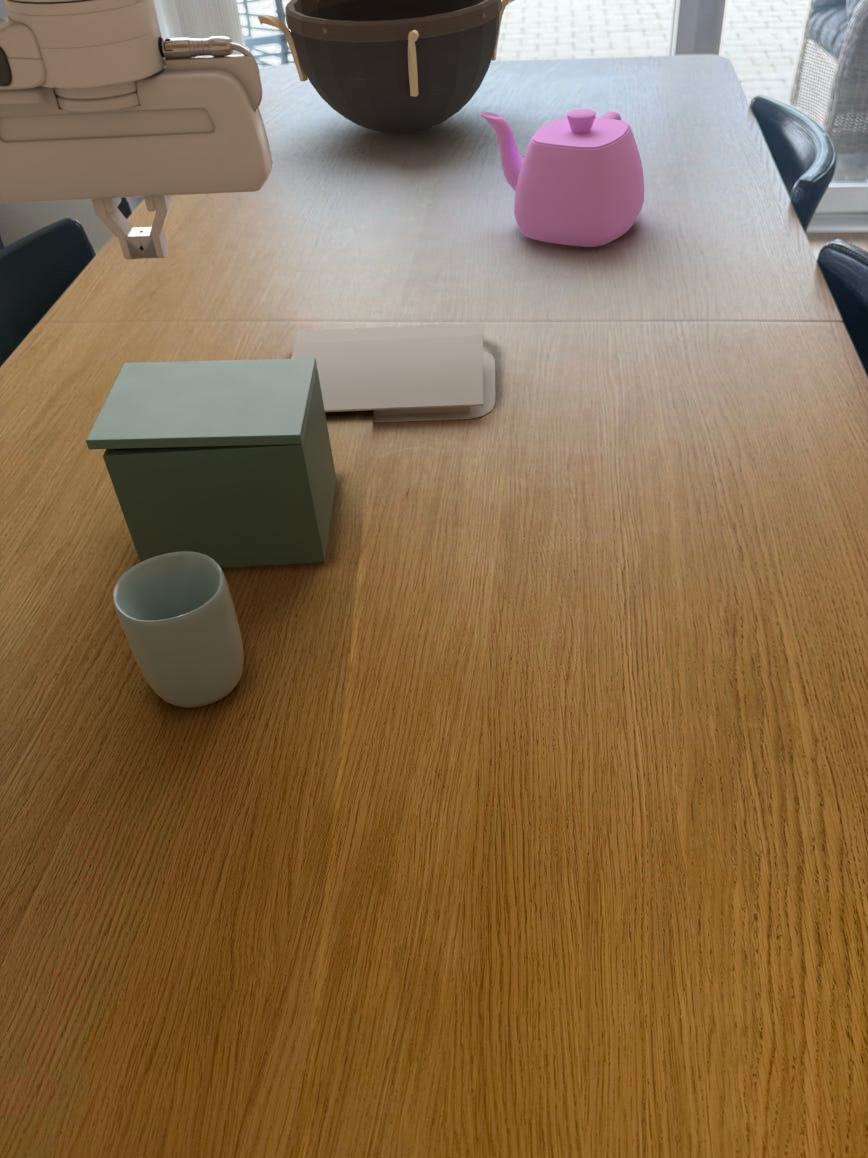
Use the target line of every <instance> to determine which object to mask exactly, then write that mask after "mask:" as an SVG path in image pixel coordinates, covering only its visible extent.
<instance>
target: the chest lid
mask: <svg viewBox="0 0 868 1158" xmlns="http://www.w3.org/2000/svg"><path fill="white" fill-rule="evenodd" d="M316 368H317V364H316V359H315V358H297V359H291V358H270V359H269V358H264V359H263V358H261V359H255V358H254V359H222V360H220V359H218V360H217V359H215V360H180V361H179V360H177V361H173V360H172V361H140V362H139V361H138V362H135V361H134V362H132V361H131V362H124V363H123V364H122V366H121V368H120V370H119V372H118V374H117V376H116V378H115V380H114V383H113V384H112V386H111V388H110V390H109V393H108V394H107V397H106V399H105V400H104V402H103V405H102V407H101V409H100V410H99V412H98V415H97V417H96V419H95V421H94V423H93V425H92V427H91V429H90V431H89V433H88V435H87V436H86V439H85V443H86V445H87V448H88V450H106V449H127V448H166V447H206V446H246V445H286V444H302V439H303V434H304V429H305V424H306V419H307V414H308V409H309V403H310V398H311V393H312V388H313V383H314V378H315V373H316Z"/></svg>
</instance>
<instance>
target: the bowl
mask: <svg viewBox="0 0 868 1158" xmlns="http://www.w3.org/2000/svg"><path fill="white" fill-rule="evenodd" d="M515 1H516V0H290V1H289V2H288V3H286V5H285V23H286V24H285V23H284V21H282V20H280V19H279V18H278V17H276V16H274V15H270V14H269V15H268V14H265V15H262V16H261V15H259V16H257V19H258V21H259V24H260V25H261V26H262V25H263V24H264V25H268V26H271V27H274V28H277V29H279V30H280V31H281V32H282V33H283V35H284V37H285V39H286V42H287V44H288V47H289V49H290V53H291V56H292V58H293V62H294V65H295V68H296V71H297V74H298V78H299V81H300V82H306V81H309V83H310V85H311V86H312V87H313V89H314V90H315V91H316V93H317V94H318V95H319V96H320V98H321V99H322V100H323V101H324V102H325V103H326V104H327V105H328V106H329V107H330V108H331V109H332V110H334V111H335V112H337V114H339V115H340V116H342V117H343V118H345V119H346V120H348V121H350V122H352V123H354V124H355V125H358V126H360V127H361V128H364V129H366V130H370V131H372V132H378V133H381V134H386V135H408V134H415V133H416V134H417V133H420V132H424V131H426V130H429V129H432V128H435V127H437V126H439V125H441V124H443V123H444V122H446V121H447V120H449V119H450V118H451V117H453V116H454V115H455V114H458V112H460V111H461V110H462V109H463V108H464V107H465V106H466V105H467V104H468V103H469V102H470V101H471V100H472V99H473V97H474V96H475V94H476V93H477V91H478V90H479V88H480V87H481V86H482V83H483V81H484V79H485V77H486V75H487V74H488V70H489V68H490V65H491V62H492V61H493V62H495V61H496V60H497V53H498V45H499V38H500V31H501V26H502V19H503V15H504V13H505V9H506V7H507V6H508V5H509V4H511V3H513V2H515Z"/></svg>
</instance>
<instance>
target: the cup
mask: <svg viewBox="0 0 868 1158" xmlns="http://www.w3.org/2000/svg"><path fill="white" fill-rule="evenodd" d="M112 599H113V600H112V601H113V607H114V611H115V613H116V617H117V620H118V621H119V624H120V627H121V630H122V633H123V634H124V638H125V639H126V641H127V644H128V646H129V649H130V651H131V654H132V656H133V659H134V660H135V662H136V664H137V667H138V669H139V671H140V672H141V675H142V676H143V678H144V680H145V681H146V683H147V684H148V685H149V686H150V688H151V689H152V690H153V692H154V693H155V695H156V696H158V697H159V698H160V699H161V700H163V701H164V702H165V703H167V704H170V705H171V706H174V707H175V708H176V707H178V708H183V709H194V708H200V707H205V706H208V705H211V704H214V703H216V702H219V701H220V700H222V699H224V698H225V697H227V696H228V695H229V694H230V693H232V691H234V689H236V688H237V685H238V684H239V683H240V680H241V678H242V674H243V672H244V671H243V670H244V664H245V663H244V661H245V660H244V659H245V658H244V657H245V656H244V654H245V653H244V643H243V637H242V632H241V627H240V623H239V619H238V615H237V611H236V608H235V605H234V601H233V597H232V594H231V590H230V587H229V583H228V580H227V577H226V575H225V573H224V571H223V569H222V567H220V566H219V564H218V563H217V562H216V561H215V560H214V559H212V558H210V557H209V556H207V555H204V554H201V553H198V552H190V551H185V552H173V553H167V554H163V555H159V556H156V557H153V558H150V559H147V560H145V561H143V562H140V561H139V562H138V563H137V564H135V565H134V566H131V567H130V568H129V569H127V570H126V571H125V572H124V573H123V574H121V576H120V577H119V579H117V582H116V584H115V586H114V588H113V592H112Z"/></svg>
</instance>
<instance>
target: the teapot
mask: <svg viewBox="0 0 868 1158" xmlns="http://www.w3.org/2000/svg"><path fill="white" fill-rule="evenodd" d="M479 115H480V116H481V117H482V118H483V119H484V120H486V121H487V123H488V124H490V125H491V127H492V129H493V130H494V132H495V136H496V138H497V142H498V147H499V154H500V162H501V169H502V172H503V175H504V178H505V180H506V182H507V184H508V185H509V187H510V188H511V189H512V190H513V191H514V192H515V195H514V204H513V205H514V206H513V208H514V209H513V212H514V213H513V214H514V218H515V221H516V222H515V223H516V224H517V226H518V228H519V229H520V231H521V232H522V234H523V235H524V236H525V237H526V238H528V239H531V240H535V241H540V242H544V243H550V244H556V245H565V246H575V247H586V248H587V247H589V248H598V247H601V246H604V245H607V244H610V243H611V242H613V241H615V240H616V239H619V238H620V237H622V236H624V234H627V232H629V230H630V229H631V228H632V226H633V225H634V224H635V222H636V220H637V218H638V217H639V215H640V213H641V211H642V209H643V206H644V202H645V179H644V178H645V177H644V168H643V164H642V159H641V154H640V151H639V147H638V144H637V141H636V138H635V135H634V133H633V130H632V127H631V125H630V124H629V123H628V122H627V121H625V120H622V117H621V114H620V113H619V112H617V111H614V110H613V111H610V110H609V111H607V112H605V113H603V114H602V115H601V116H599V117H596V115H597V112H596V110H592V109H589V108H575V109H572V110H570V111H568V112H567V113H566V116H563V117H559V118H556V119H553V120H551V121H549V122H547V123H546V124H544V125H542V126H540V128H538V129H537V130H536V131H535V133H534V134H533V135H532V136H531V138H530V141H529V144H528V145H527V149H526V152H525V154H524V157H523V156H522V155H521V153H520V152H519V149H518V147H517V143H516V139H515V137H514V133H513V130H512V128H511V126H510V124H509V123H508V121H507V120H506V119H505V118H504V117H503V116H501V115H499V114H496V113H493V112H488V111H481V112H479Z"/></svg>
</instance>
